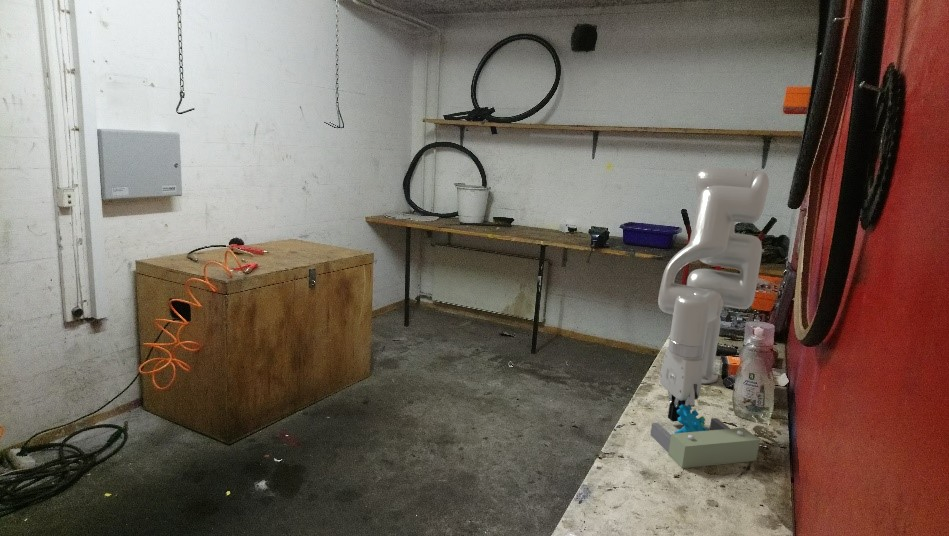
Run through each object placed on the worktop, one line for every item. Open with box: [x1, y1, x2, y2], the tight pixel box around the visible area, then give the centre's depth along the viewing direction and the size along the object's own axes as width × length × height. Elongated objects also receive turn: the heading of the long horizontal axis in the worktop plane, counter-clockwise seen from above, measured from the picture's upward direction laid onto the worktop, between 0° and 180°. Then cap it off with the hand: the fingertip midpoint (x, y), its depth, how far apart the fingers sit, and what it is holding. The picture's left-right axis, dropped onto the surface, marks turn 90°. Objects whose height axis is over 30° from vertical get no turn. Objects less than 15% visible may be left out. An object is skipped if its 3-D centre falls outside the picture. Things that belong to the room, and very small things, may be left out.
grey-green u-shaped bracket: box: [650, 417, 761, 469], centre depth 121 cm, size 13×18×6 cm
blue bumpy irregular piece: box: [673, 405, 709, 434], centre depth 125 cm, size 11×6×10 cm
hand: (675, 419), depth 131 cm, fingers closed
